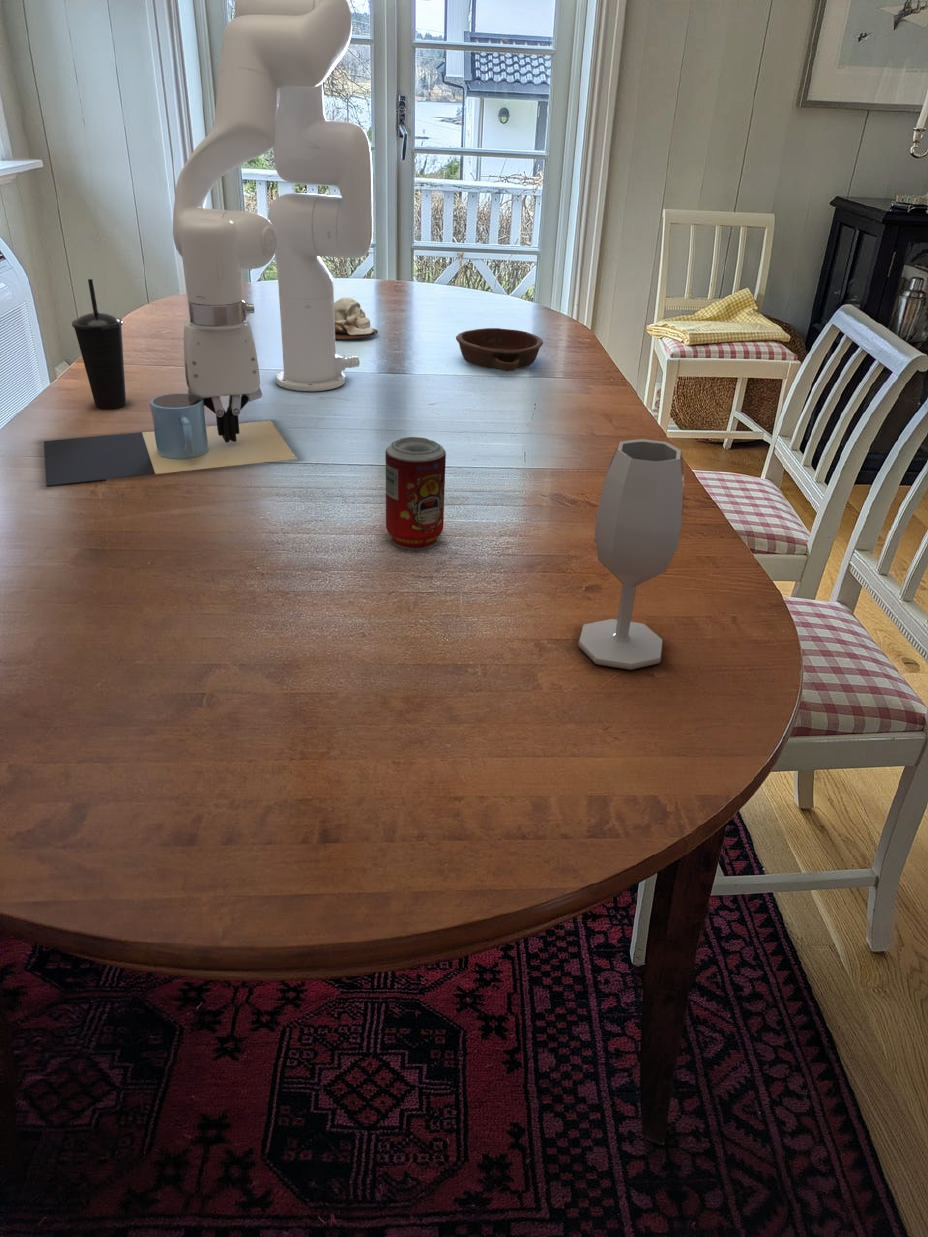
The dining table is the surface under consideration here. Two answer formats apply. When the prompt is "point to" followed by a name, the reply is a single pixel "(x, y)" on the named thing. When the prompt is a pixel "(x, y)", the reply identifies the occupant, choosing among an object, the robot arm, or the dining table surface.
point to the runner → (156, 454)
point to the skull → (351, 320)
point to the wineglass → (635, 544)
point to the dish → (499, 348)
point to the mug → (179, 426)
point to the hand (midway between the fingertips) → (229, 438)
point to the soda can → (415, 492)
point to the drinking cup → (102, 355)
